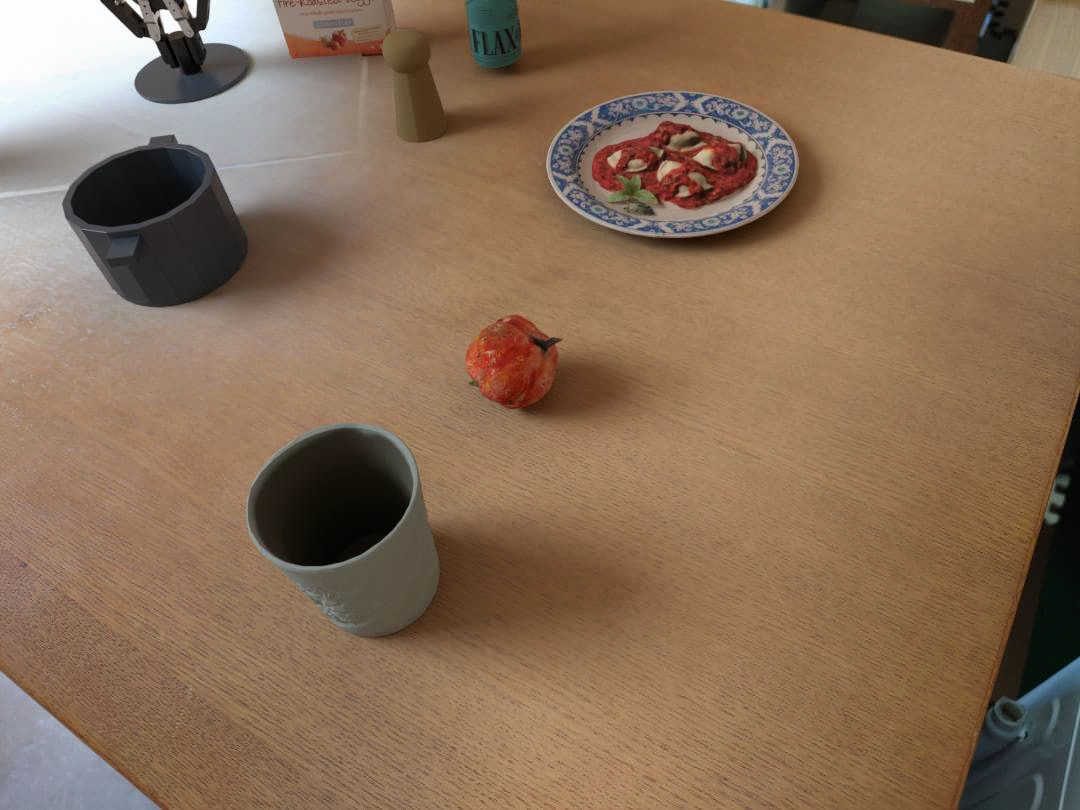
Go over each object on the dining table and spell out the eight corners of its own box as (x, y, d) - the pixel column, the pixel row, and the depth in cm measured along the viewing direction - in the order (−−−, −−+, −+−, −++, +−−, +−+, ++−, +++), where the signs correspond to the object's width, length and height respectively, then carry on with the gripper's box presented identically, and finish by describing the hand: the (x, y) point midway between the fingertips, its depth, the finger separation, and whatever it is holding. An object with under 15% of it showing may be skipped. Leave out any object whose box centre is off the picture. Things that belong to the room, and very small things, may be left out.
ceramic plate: (676, 84, 93) (678, 59, 91) (849, 179, 79) (856, 153, 77) (500, 169, 85) (497, 144, 82) (659, 292, 71) (661, 267, 69)
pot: (89, 335, 73) (34, 261, 66) (134, 211, 85) (91, 137, 78) (234, 316, 73) (195, 240, 66) (258, 195, 85) (227, 120, 78)
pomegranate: (477, 440, 64) (566, 412, 58) (419, 377, 62) (506, 340, 55) (512, 382, 69) (597, 350, 63) (460, 321, 66) (544, 281, 60)
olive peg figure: (411, 110, 94) (391, 18, 85) (456, 117, 92) (441, 24, 83) (387, 137, 90) (364, 44, 82) (434, 145, 89) (415, 51, 80)
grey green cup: (458, 519, 57) (428, 420, 48) (442, 654, 51) (404, 569, 42) (324, 520, 58) (269, 422, 49) (291, 652, 52) (222, 569, 42)
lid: (126, 114, 98) (104, 71, 93) (150, 58, 107) (131, 16, 103) (243, 100, 98) (225, 56, 94) (256, 45, 107) (241, 2, 103)
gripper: (191, -104, 90) (245, 44, 104) (71, -89, 90) (141, 56, 103) (179, -79, 85) (238, 71, 99) (52, -64, 85) (128, 85, 99)
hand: (188, 63), depth 101 cm, fingers closed on lid, 2 cm apart
